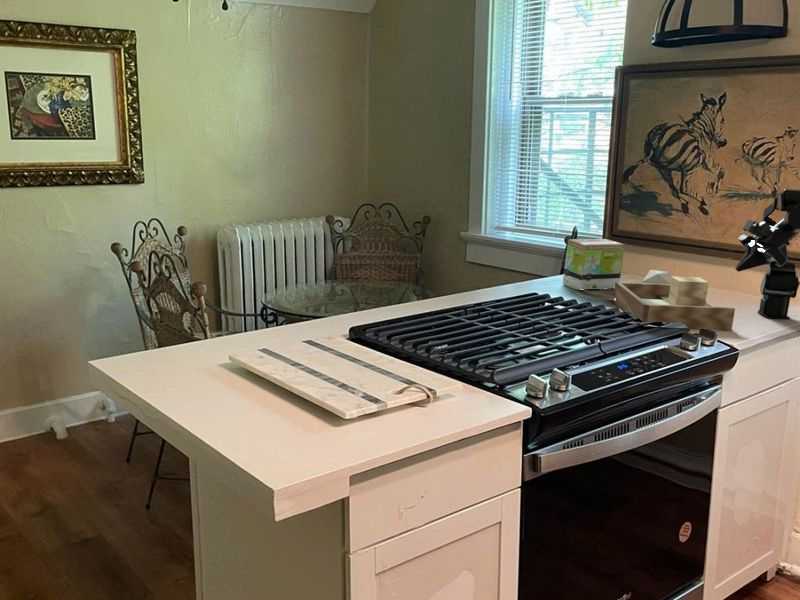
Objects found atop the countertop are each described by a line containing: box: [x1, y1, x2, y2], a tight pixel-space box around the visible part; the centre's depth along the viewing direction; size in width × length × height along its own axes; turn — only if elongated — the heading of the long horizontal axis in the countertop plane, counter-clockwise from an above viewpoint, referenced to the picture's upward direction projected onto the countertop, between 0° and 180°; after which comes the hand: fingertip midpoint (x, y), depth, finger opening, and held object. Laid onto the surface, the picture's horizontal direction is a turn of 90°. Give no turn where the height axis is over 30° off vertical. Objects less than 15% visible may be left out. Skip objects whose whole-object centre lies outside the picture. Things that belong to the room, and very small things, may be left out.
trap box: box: [612, 281, 736, 332], centre depth 216 cm, size 24×26×6 cm
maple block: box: [668, 275, 709, 306], centre depth 215 cm, size 8×6×8 cm
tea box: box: [562, 238, 626, 291], centre depth 246 cm, size 15×10×15 cm, turn 115°
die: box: [641, 269, 671, 284], centre depth 236 cm, size 8×9×10 cm
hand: (736, 270), depth 214 cm, fingers closed
